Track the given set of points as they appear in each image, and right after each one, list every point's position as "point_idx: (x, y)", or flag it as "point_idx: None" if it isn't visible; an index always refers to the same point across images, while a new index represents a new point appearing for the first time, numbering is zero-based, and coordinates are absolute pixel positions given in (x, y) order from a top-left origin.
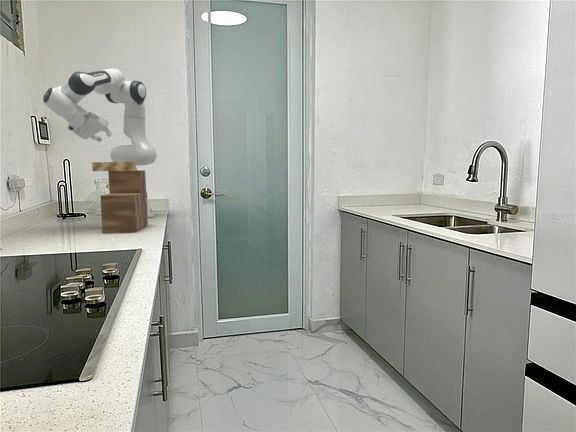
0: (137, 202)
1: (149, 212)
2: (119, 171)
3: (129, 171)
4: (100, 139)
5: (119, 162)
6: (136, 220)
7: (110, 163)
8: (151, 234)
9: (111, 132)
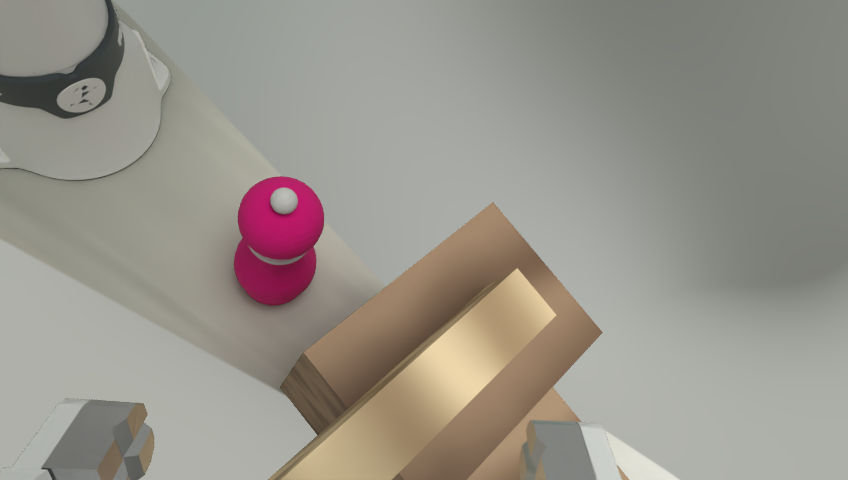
0: None
1: (156, 77)
2: (498, 442)
3: (550, 386)
4: (133, 442)
5: (474, 395)
6: None
7: (406, 459)
8: (622, 469)
9: (607, 442)
